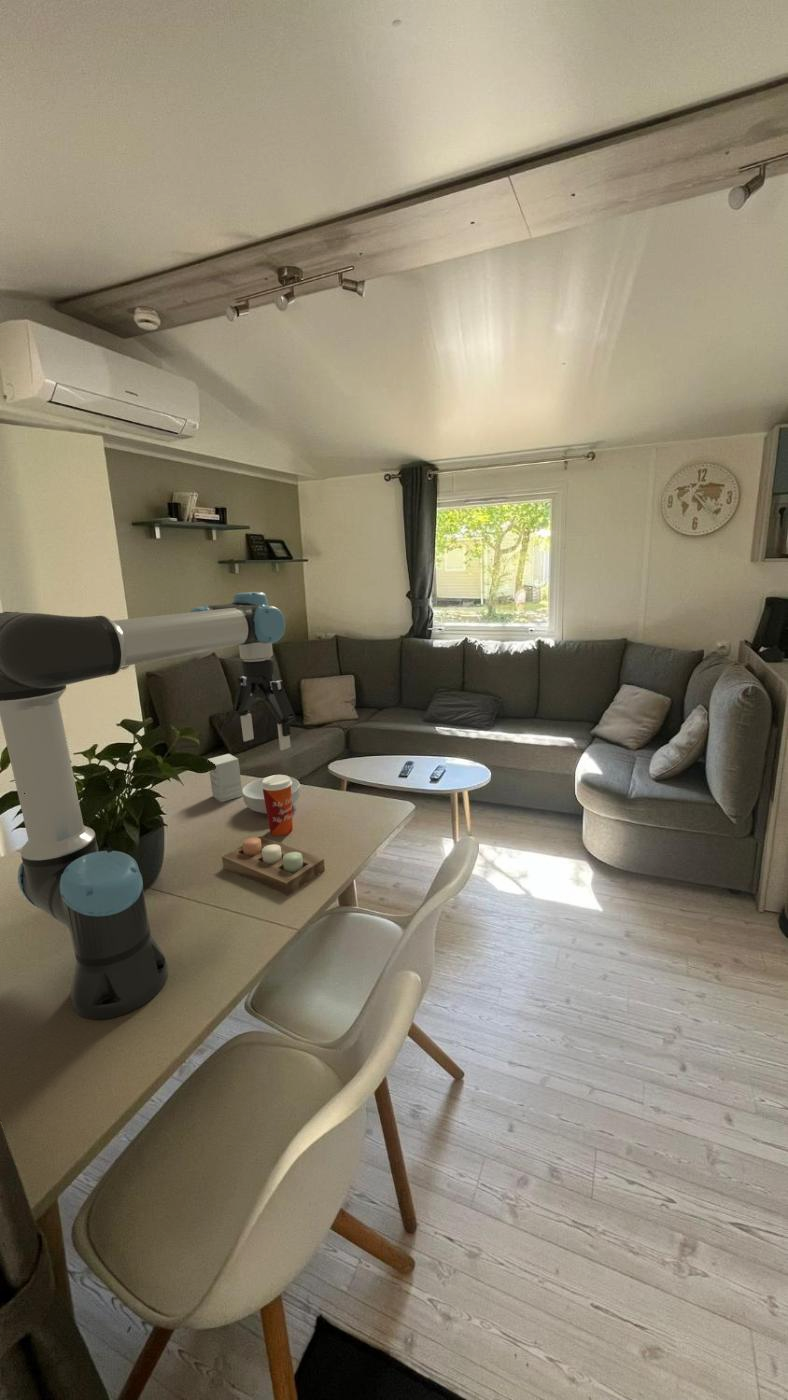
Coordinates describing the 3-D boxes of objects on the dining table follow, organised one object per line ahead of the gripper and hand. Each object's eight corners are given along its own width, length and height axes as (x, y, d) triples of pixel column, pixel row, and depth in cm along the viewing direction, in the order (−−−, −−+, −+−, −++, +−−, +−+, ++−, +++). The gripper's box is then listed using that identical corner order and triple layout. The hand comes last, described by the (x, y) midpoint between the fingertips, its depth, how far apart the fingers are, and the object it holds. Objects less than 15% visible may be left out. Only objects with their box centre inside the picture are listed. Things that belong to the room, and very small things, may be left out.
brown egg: (252, 861, 135) (250, 847, 134) (240, 856, 137) (238, 843, 136) (266, 853, 138) (264, 840, 137) (254, 848, 140) (252, 835, 140)
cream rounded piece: (272, 869, 131) (270, 855, 130) (259, 864, 133) (257, 850, 132) (286, 861, 134) (284, 847, 133) (273, 856, 136) (271, 842, 136)
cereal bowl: (232, 812, 166) (229, 790, 165) (275, 792, 179) (273, 772, 177) (270, 826, 156) (268, 802, 154) (313, 804, 169) (311, 782, 167)
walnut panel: (287, 895, 123) (286, 883, 122) (223, 868, 136) (221, 856, 135) (324, 870, 132) (323, 858, 132) (261, 846, 145) (260, 836, 144)
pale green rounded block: (293, 878, 127) (292, 863, 126) (280, 872, 129) (278, 858, 128) (307, 869, 130) (306, 855, 129) (293, 864, 132) (292, 850, 132)
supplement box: (234, 789, 183) (229, 752, 180) (243, 796, 178) (238, 758, 175) (211, 796, 179) (206, 758, 176) (220, 803, 173) (215, 764, 170)
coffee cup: (280, 841, 147) (274, 787, 144) (259, 833, 152) (253, 781, 149) (303, 828, 154) (298, 777, 150) (283, 821, 159) (277, 771, 155)
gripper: (305, 659, 128) (313, 747, 133) (236, 652, 143) (246, 732, 148) (280, 665, 122) (289, 757, 127) (211, 657, 137) (222, 740, 142)
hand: (266, 744), depth 138 cm, fingers open, 13 cm apart
